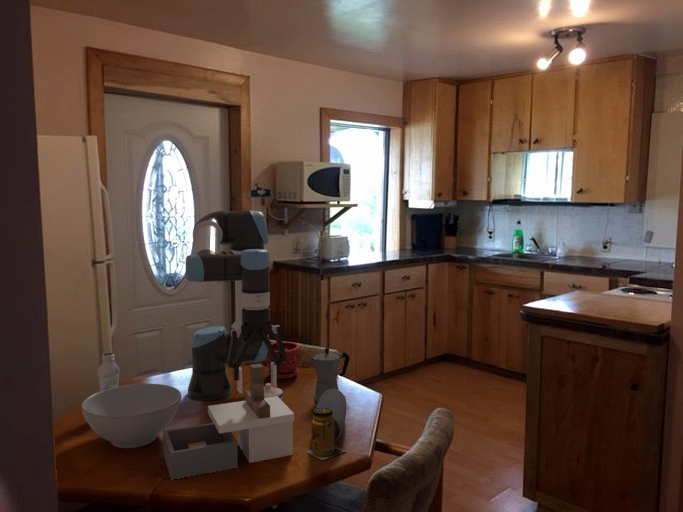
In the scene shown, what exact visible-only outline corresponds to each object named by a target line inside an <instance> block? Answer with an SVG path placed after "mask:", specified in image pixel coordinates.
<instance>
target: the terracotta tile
mask: <svg viewBox="0 0 683 512" xmlns="http://www.w3.org/2000/svg"><path fill="white" fill-rule="evenodd" d="M201 446H206V443H205V441H203V442H197V443H191V444H188V449H189V448H195V447H201Z"/></svg>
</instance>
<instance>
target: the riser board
mask: <svg viewBox="0 0 683 512" xmlns="http://www.w3.org/2000/svg"><path fill="white" fill-rule="evenodd" d="M264 399H265V401H266V402H267V403H268V404H269V405H270V417H267V418H260V419H259V418H258V417H257V415H256V414H255V413H254V411H253V410H252V409H251V408H250V406H249V405H248V404H247V402H246V400H241V401H233V402H227V403H226V402H225V403H219V404H213V405H207V414H208V416H209V418H210V420H211V421H212V423H214V425H215V427H216V428H217V430H218V432H219V433H225V432H231V433H232V432H237V433H238V434H237V439H238V440H237V446H240V447H239V448H240V450H241V452H242V451H243V452H242V454H243V455H244V456H246V457H245V458H246V460H247V461H248V463H250V464H251V462H252V463H257V462H262V461H266V460H272V459H278V458H283V457H287V456H292V455H293V454H294V445H293V444H294V438H293V434H294V433H293V429H294V427H293V426H294V425H293V422H295V413H294V411H292V409H291V408H289V407H288V406H287V405H286V404H285V402H284V401H283V399H282V400H281V399H280V398H279V397H278V396H274V397H267V398H264Z"/></svg>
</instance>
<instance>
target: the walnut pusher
mask: <svg viewBox="0 0 683 512" xmlns="http://www.w3.org/2000/svg"><path fill="white" fill-rule="evenodd" d="M264 371H265V366H264V365H263V364H261V363H255V364H254V363H253V364H249V379H250V381H249V382H250V383H249V386H250V387H249V388H250V390H245V393H244V394H245V401H246V402H247V404H248V405H249V406H250V408H251V409H252V410H253V411H254V413H255V414H256V415H257V417H258V418H259V419H260V418H267V417H270V405H269V404H268V403H267V402H266V401H265V399H264V387H265V376H264V375H265V372H264Z"/></svg>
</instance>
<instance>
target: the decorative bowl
mask: <svg viewBox="0 0 683 512" xmlns="http://www.w3.org/2000/svg"><path fill="white" fill-rule="evenodd" d="M181 400H182V393H181V391H180V390H179V389H178V388H175V387H174V386H170V385H167V384H161V383H135V384H133V383H132V384H125V385H118V387H114V388H110V389H106V390H103V391H97V392H96V393H93V394H92V395H89V396H88V397H87V398H85V399H84V401H82V403H81V412H82V415H83V417H84V418H85V421H86V422H87V424H88V425H89V427H90V428H91V430H92V431H93V432H94V433H96V435H97V436H99V437H100V438H102V439H104V440H105V441H108V442H110V443H111V445H112V446H113V447H116V448H121V449H134V448H139V447H143V446H146V445H149V444H150V443H152V442H154V441H155V440H156V439H157V436H158V435H160V434H161V433H163V431H164V430H166V429H167V428H168V426H169V425H170V424H171V422H172V421H173V420H174V418H175V416H176V414H177V412H178V409H179V407H180V404H181Z"/></svg>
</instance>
